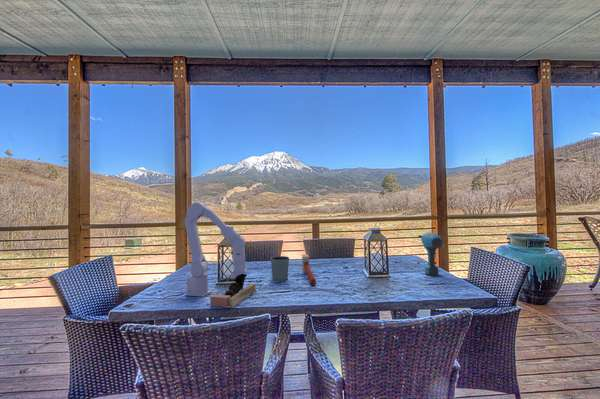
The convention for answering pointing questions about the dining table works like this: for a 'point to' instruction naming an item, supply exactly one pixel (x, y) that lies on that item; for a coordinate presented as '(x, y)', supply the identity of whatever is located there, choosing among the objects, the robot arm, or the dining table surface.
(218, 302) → the stop block
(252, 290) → the fence rail
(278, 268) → the grey green pot
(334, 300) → the dining table surface
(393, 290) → the dining table surface
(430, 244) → the power drill
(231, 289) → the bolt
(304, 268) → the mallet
